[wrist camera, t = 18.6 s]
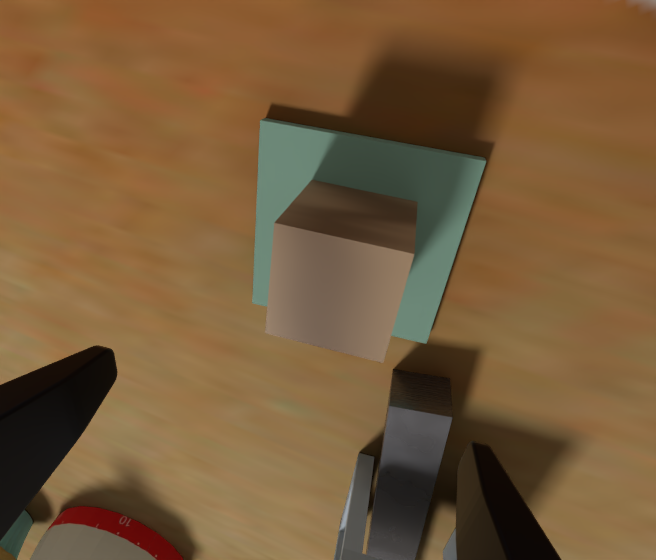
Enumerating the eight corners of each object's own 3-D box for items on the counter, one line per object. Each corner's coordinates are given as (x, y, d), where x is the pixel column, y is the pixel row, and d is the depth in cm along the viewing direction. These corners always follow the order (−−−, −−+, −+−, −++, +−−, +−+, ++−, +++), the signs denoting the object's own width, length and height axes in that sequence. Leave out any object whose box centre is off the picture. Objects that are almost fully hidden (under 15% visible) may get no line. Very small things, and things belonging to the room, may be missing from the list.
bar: (449, 374, 22) (452, 417, 19) (402, 569, 32) (400, 614, 30) (393, 365, 22) (389, 406, 20) (364, 559, 33) (359, 603, 30)
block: (417, 201, 17) (414, 254, 13) (393, 292, 19) (383, 362, 15) (311, 179, 17) (274, 222, 13) (300, 271, 20) (265, 332, 15)
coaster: (484, 157, 16) (486, 161, 16) (426, 336, 21) (426, 343, 20) (265, 118, 17) (260, 120, 17) (256, 297, 22) (252, 303, 21)
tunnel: (495, 489, 25) (514, 617, 19) (457, 555, 29) (464, 676, 24) (358, 452, 26) (340, 564, 20) (340, 521, 30) (320, 630, 24)
